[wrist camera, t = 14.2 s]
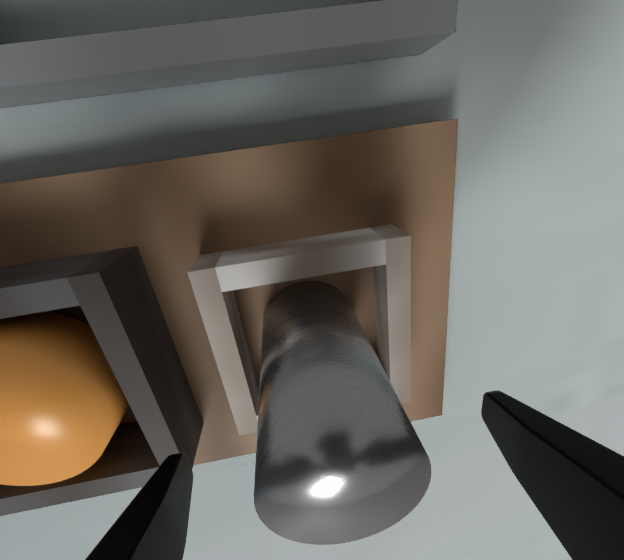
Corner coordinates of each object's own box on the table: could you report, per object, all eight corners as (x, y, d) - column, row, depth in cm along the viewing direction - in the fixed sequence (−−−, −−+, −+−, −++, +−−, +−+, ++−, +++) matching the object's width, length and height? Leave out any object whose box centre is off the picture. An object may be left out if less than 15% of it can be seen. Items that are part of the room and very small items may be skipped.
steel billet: (271, 366, 16) (272, 558, 8) (254, 289, 14) (235, 447, 6) (356, 350, 16) (428, 524, 8) (349, 273, 14) (434, 408, 7)
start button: (14, 445, 14) (-34, 500, 12) (-74, 327, 12) (-156, 370, 10) (155, 418, 15) (134, 467, 13) (100, 298, 12) (61, 332, 10)
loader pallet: (43, 477, 18) (-18, 565, 14) (-157, 206, 12) (-367, 233, 8) (432, 400, 20) (471, 461, 16) (442, 121, 13) (513, 108, 9)
